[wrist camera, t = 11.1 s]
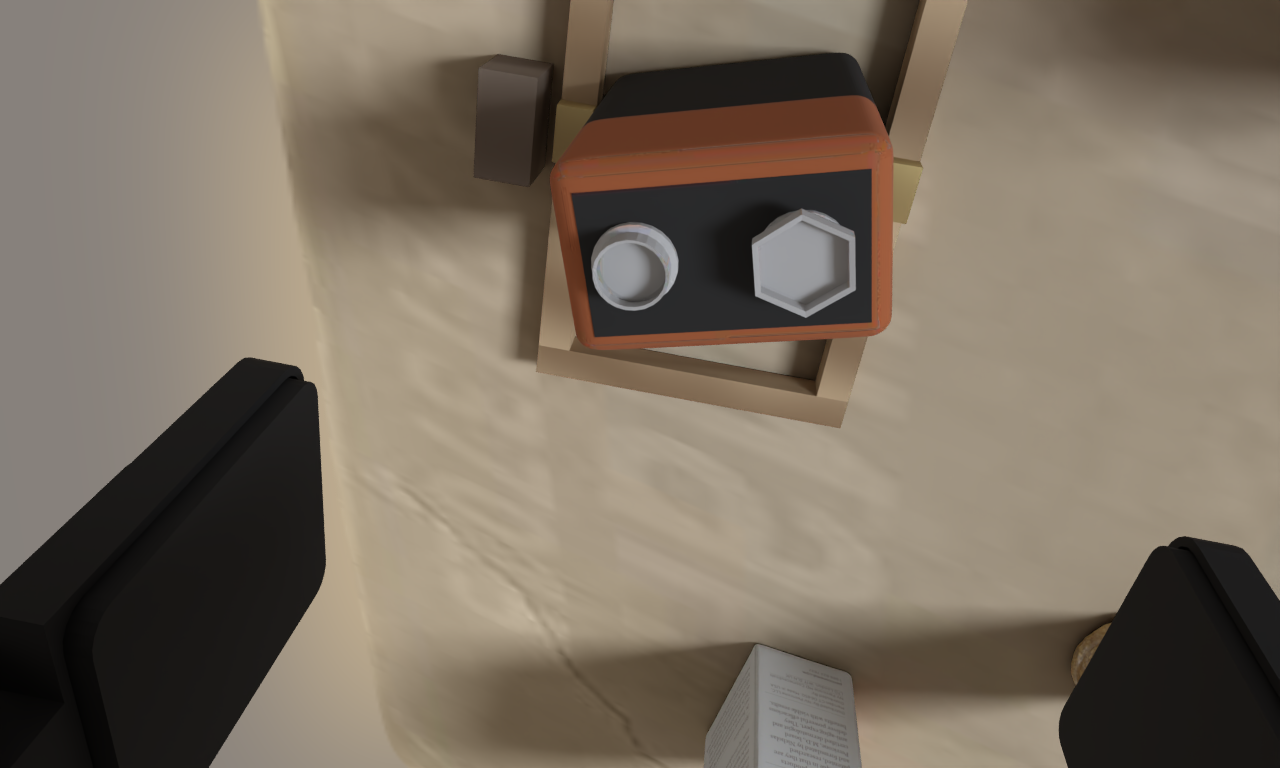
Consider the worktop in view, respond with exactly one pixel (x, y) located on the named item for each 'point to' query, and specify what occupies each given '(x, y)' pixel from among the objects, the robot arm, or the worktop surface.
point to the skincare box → (785, 716)
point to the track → (517, 156)
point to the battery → (729, 207)
